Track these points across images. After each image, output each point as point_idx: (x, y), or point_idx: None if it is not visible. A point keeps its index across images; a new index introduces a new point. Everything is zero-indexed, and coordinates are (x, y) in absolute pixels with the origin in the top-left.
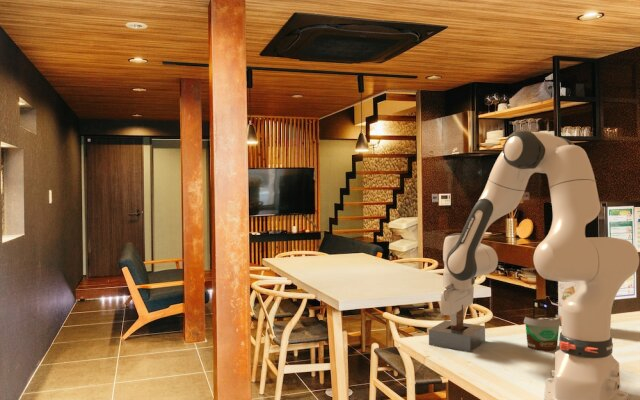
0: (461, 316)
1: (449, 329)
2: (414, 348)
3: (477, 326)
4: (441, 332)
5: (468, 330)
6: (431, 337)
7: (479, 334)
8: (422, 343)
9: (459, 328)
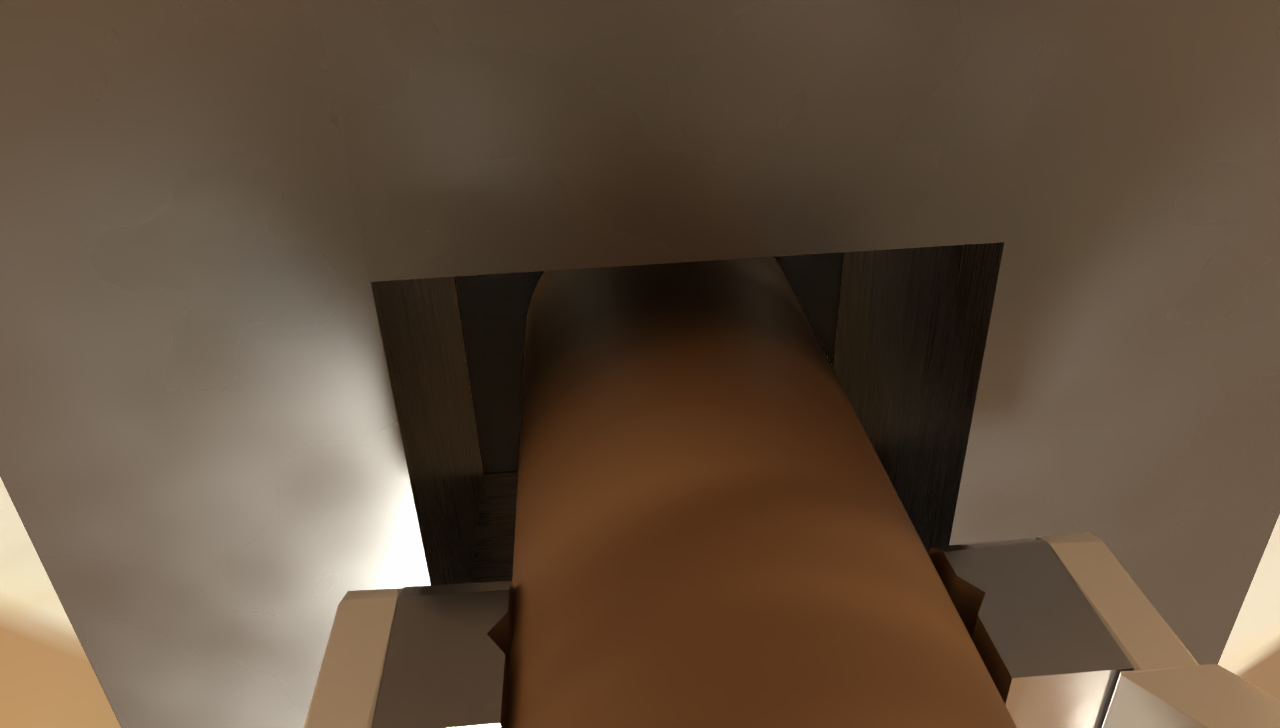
0: (912, 711)
1: None
2: (1265, 648)
3: (42, 67)
4: (1218, 609)
5: (799, 128)
6: None
7: None
8: None
9: (846, 414)
